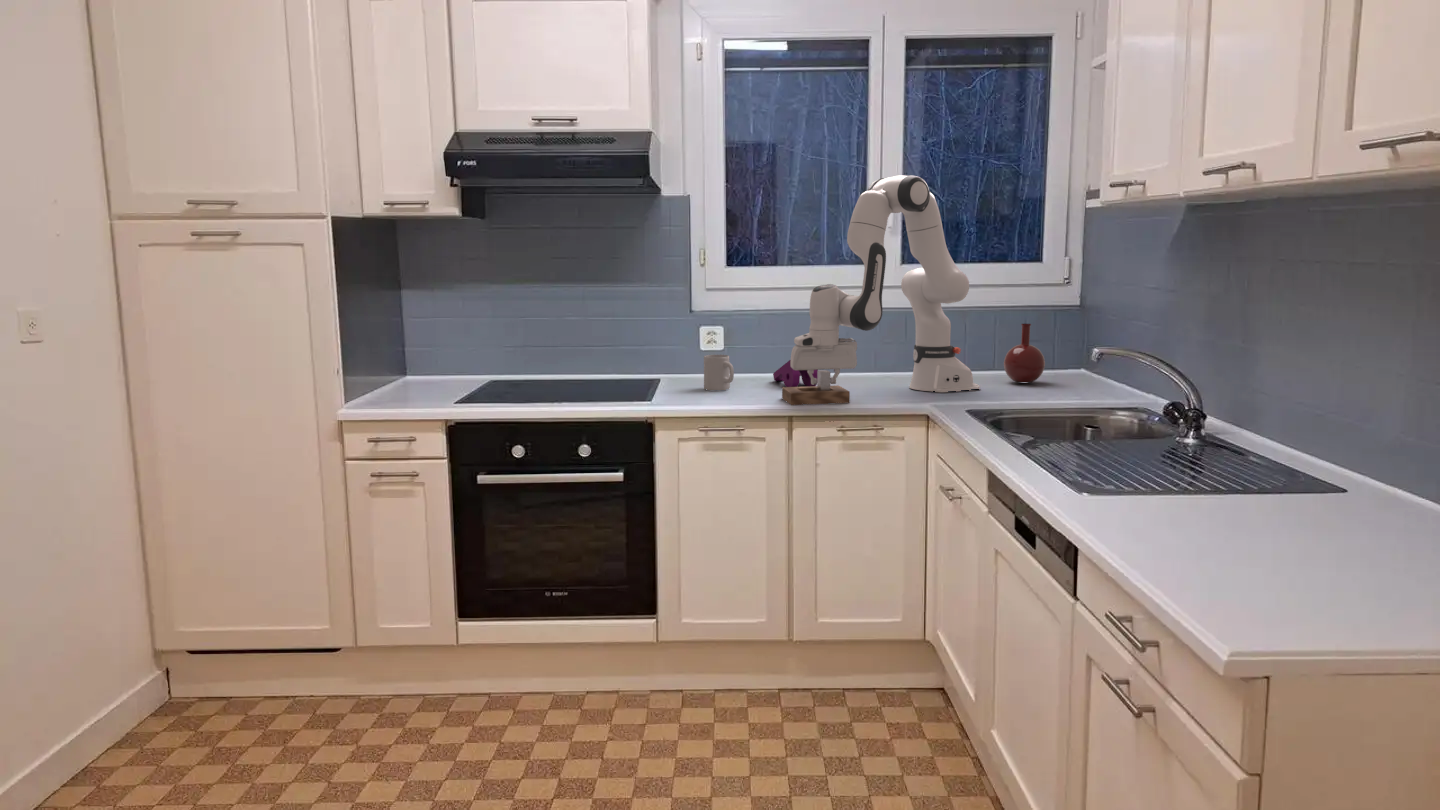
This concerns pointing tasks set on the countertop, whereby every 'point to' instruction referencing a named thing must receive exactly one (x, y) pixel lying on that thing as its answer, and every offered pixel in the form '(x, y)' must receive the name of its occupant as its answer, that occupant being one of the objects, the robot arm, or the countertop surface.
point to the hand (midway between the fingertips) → (823, 383)
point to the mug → (717, 372)
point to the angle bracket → (823, 380)
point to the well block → (815, 395)
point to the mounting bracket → (793, 376)
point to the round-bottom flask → (1024, 360)
